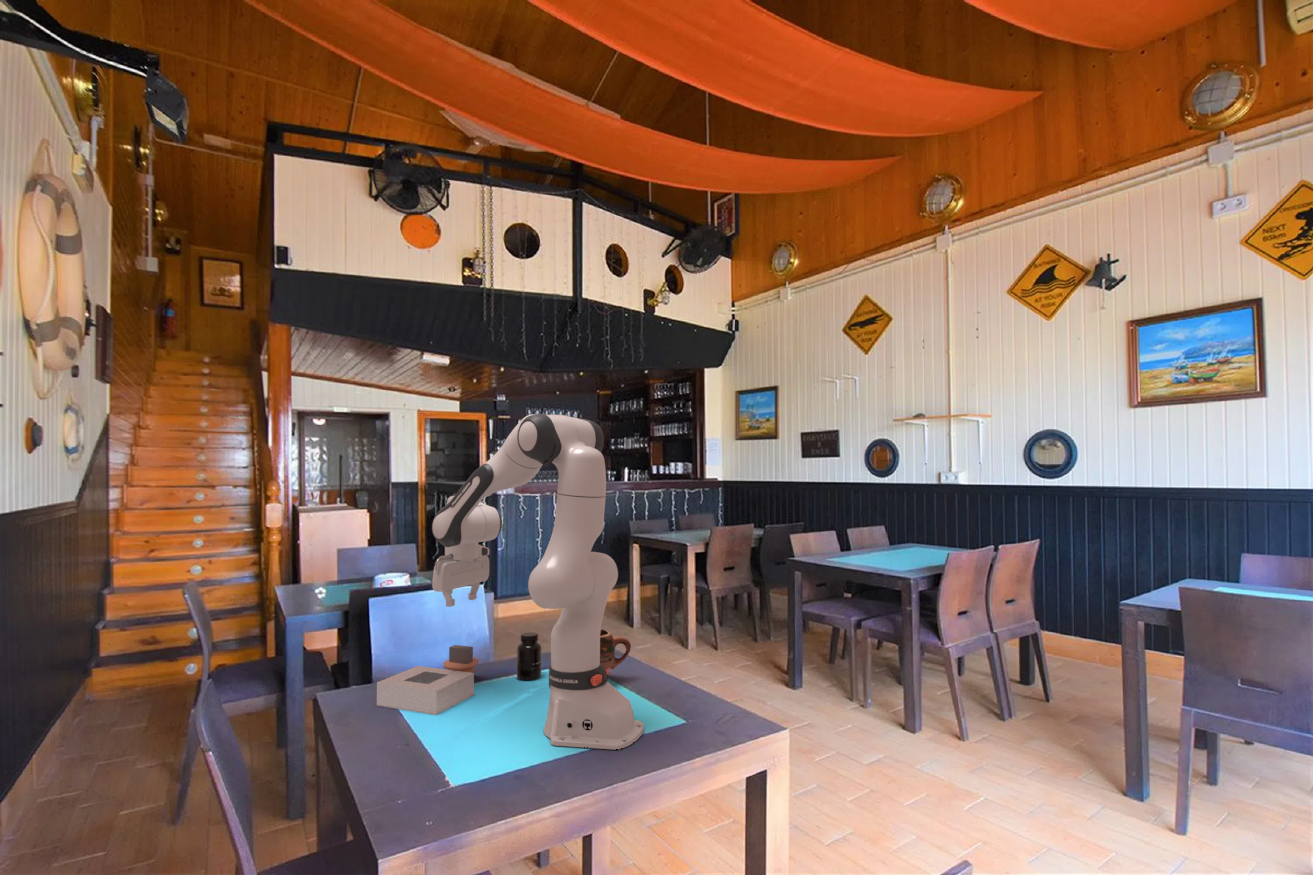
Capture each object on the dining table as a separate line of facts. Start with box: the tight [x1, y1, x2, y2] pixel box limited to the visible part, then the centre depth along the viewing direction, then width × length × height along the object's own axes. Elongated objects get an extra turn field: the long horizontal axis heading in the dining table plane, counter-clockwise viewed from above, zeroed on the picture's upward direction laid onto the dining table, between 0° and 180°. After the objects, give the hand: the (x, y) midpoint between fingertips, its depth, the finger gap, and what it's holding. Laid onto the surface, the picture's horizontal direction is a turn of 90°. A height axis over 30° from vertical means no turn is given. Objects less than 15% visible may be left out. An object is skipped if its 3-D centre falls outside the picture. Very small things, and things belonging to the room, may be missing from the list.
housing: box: [376, 665, 475, 716], centre depth 159 cm, size 18×14×7 cm
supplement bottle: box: [516, 632, 542, 681], centre depth 181 cm, size 7×7×12 cm
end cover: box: [442, 644, 479, 674], centre depth 175 cm, size 9×9×10 cm
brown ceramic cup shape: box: [600, 628, 632, 682], centre depth 176 cm, size 20×12×14 cm, turn 113°
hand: (461, 602), depth 176 cm, fingers open, 8 cm apart
